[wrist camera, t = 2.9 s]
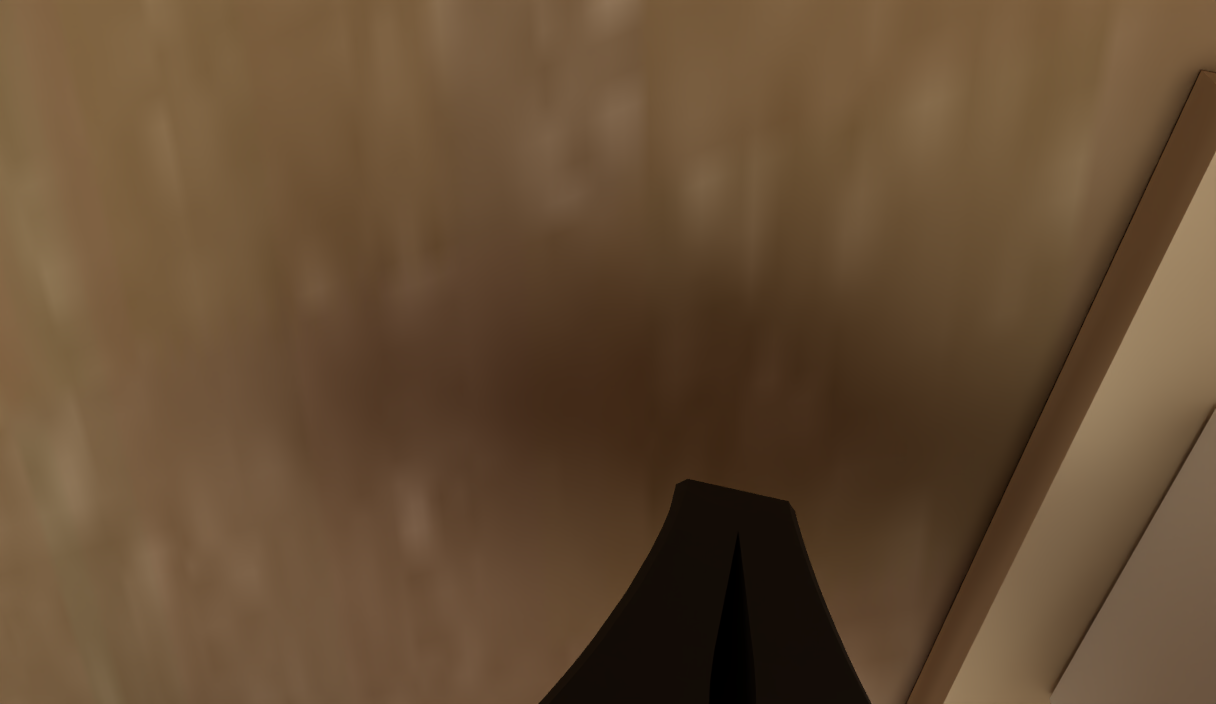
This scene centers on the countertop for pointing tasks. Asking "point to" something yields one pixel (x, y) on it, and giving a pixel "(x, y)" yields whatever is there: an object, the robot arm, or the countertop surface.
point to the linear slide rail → (1097, 443)
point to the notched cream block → (1159, 605)
